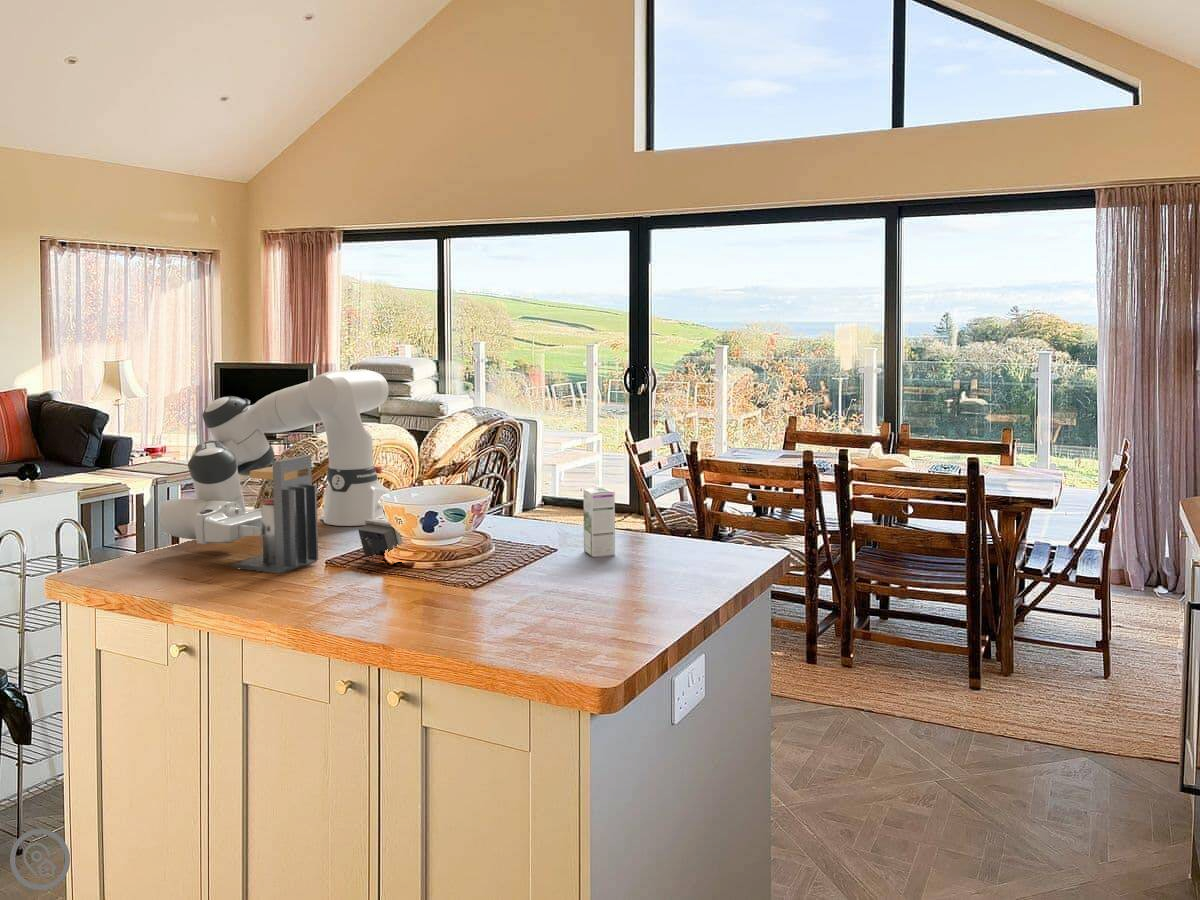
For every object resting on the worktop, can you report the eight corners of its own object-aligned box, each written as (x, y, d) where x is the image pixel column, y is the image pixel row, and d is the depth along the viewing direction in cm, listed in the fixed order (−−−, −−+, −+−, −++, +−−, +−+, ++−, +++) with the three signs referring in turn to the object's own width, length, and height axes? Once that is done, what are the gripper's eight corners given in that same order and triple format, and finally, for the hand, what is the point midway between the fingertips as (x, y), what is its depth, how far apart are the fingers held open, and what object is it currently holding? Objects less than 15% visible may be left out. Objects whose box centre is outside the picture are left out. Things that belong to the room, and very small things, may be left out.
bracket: (270, 556, 222) (267, 452, 219) (324, 561, 217) (321, 455, 214) (233, 568, 211) (229, 459, 208) (289, 574, 206) (285, 462, 203)
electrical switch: (407, 563, 217) (403, 521, 215) (390, 570, 212) (386, 527, 210) (376, 557, 222) (372, 516, 220) (358, 564, 217) (354, 523, 215)
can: (273, 556, 217) (271, 496, 216) (293, 558, 216) (291, 498, 214) (257, 561, 213) (254, 500, 211) (277, 563, 211) (275, 502, 209)
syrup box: (615, 555, 224) (616, 491, 223) (590, 557, 222) (591, 492, 221) (607, 550, 230) (607, 487, 228) (582, 552, 228) (582, 488, 226)
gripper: (257, 527, 228) (308, 532, 223) (191, 545, 209) (246, 551, 204) (256, 499, 227) (307, 503, 222) (190, 515, 208) (245, 520, 203)
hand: (277, 526), depth 213 cm, fingers open, 8 cm apart
